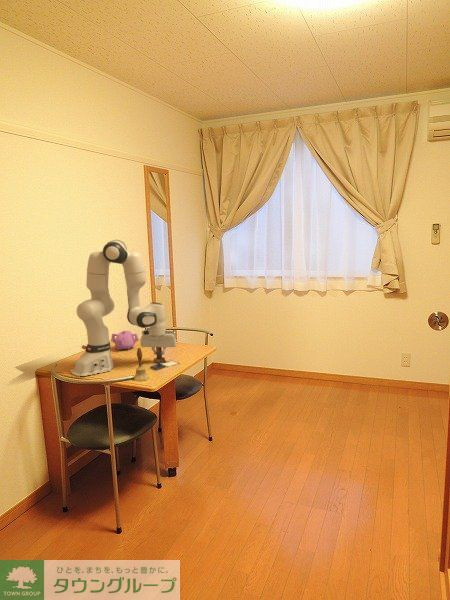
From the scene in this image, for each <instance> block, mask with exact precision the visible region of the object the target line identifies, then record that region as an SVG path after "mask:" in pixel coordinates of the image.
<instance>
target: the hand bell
mask: <svg viewBox="0 0 450 600" xmlns="http://www.w3.org/2000/svg"><path fill="white" fill-rule="evenodd" d="M136 357H137V361H138V367H137V368H136V369H135V370H136V371H135V375H134V376H133V377H134V380H133V381H134V382H144V381H147V380H149V379H150V375H148V373H147V371H146V368H145V366H143V362H142V361H143V352H142V349H141V347H138V348H137V350H136Z"/></svg>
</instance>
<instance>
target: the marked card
mask: <svg viewBox="0 0 450 600" xmlns="http://www.w3.org/2000/svg"><path fill="white" fill-rule="evenodd" d="M160 364H162V365H165V366H166V368H171V367H174V366H177V365H180V364H181V363H180V362H178V361H174V360H169V361H165V362H163V363H160Z"/></svg>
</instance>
